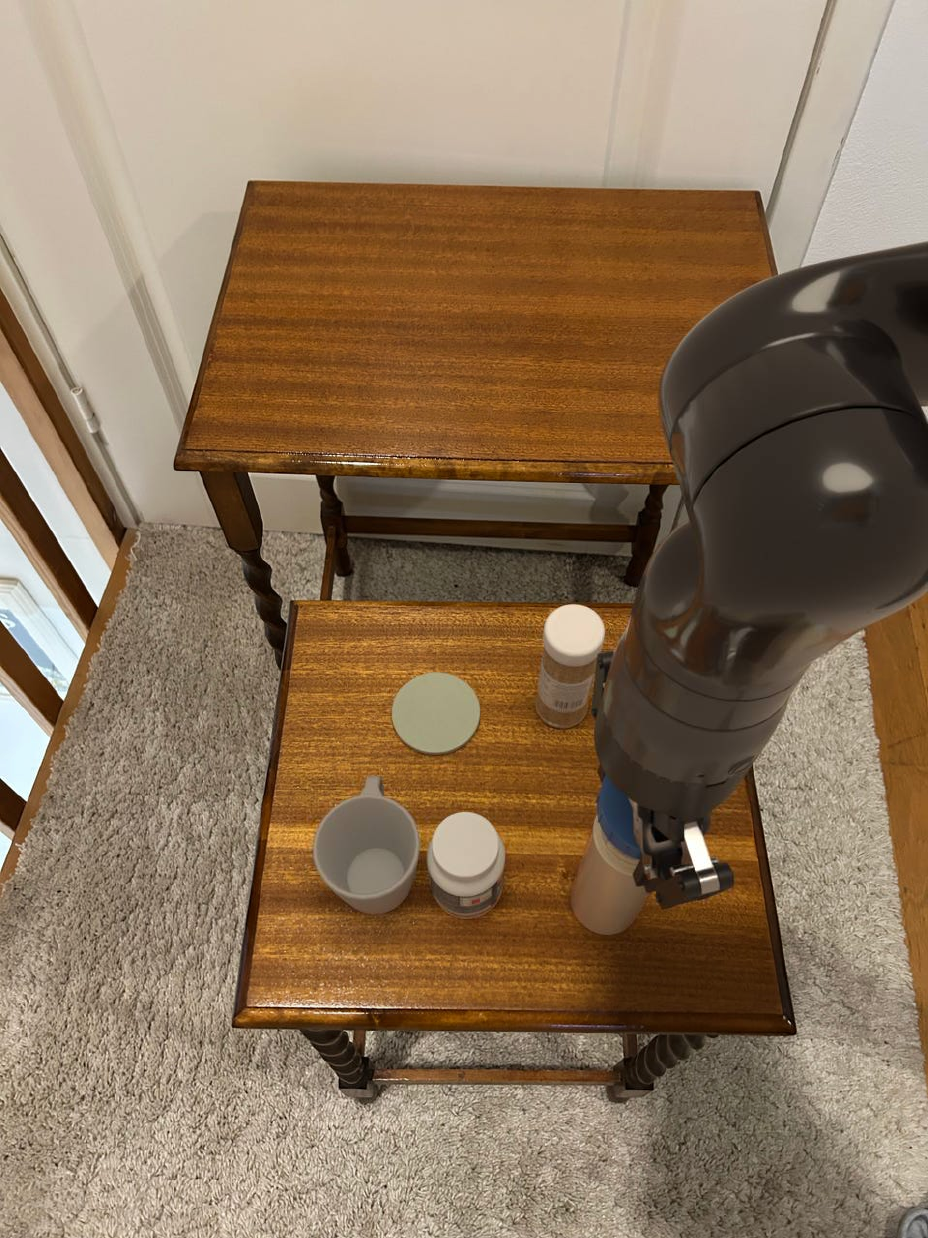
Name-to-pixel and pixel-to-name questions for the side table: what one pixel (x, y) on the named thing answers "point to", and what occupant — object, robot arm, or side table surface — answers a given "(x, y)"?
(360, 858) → the cup
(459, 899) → the pill bottle
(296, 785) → the side table surface
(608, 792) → the lid
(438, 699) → the coaster
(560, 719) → the sprinkles bottle
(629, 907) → the beige plastic cylinder
